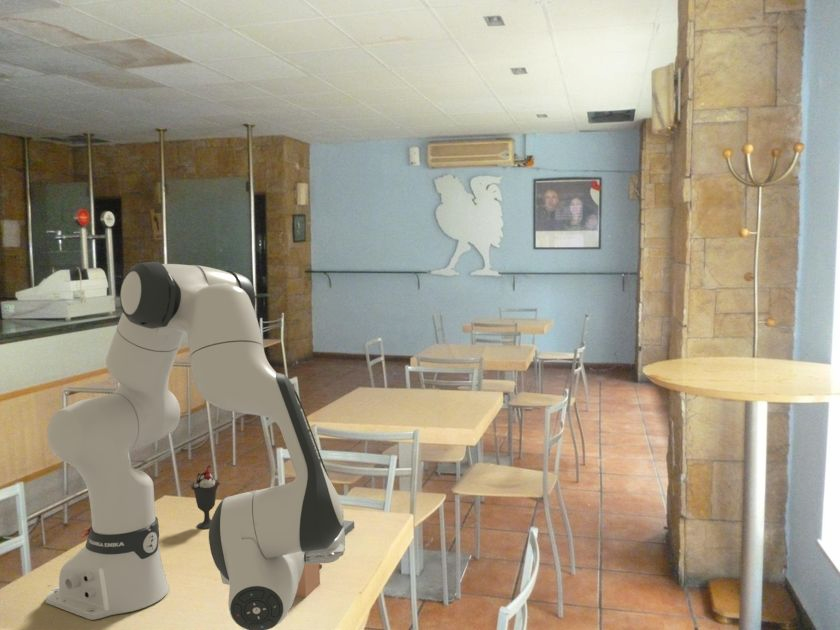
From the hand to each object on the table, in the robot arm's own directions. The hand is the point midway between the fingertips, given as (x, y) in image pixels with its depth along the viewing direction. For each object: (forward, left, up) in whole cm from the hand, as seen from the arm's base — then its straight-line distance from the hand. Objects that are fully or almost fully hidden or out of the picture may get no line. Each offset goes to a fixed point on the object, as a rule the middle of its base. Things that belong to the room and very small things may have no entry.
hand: (289, 527), depth 124 cm
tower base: (-13, +35, -16) cm, 41 cm away
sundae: (-42, +33, -16) cm, 56 cm away
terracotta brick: (-4, +10, -16) cm, 20 cm away
